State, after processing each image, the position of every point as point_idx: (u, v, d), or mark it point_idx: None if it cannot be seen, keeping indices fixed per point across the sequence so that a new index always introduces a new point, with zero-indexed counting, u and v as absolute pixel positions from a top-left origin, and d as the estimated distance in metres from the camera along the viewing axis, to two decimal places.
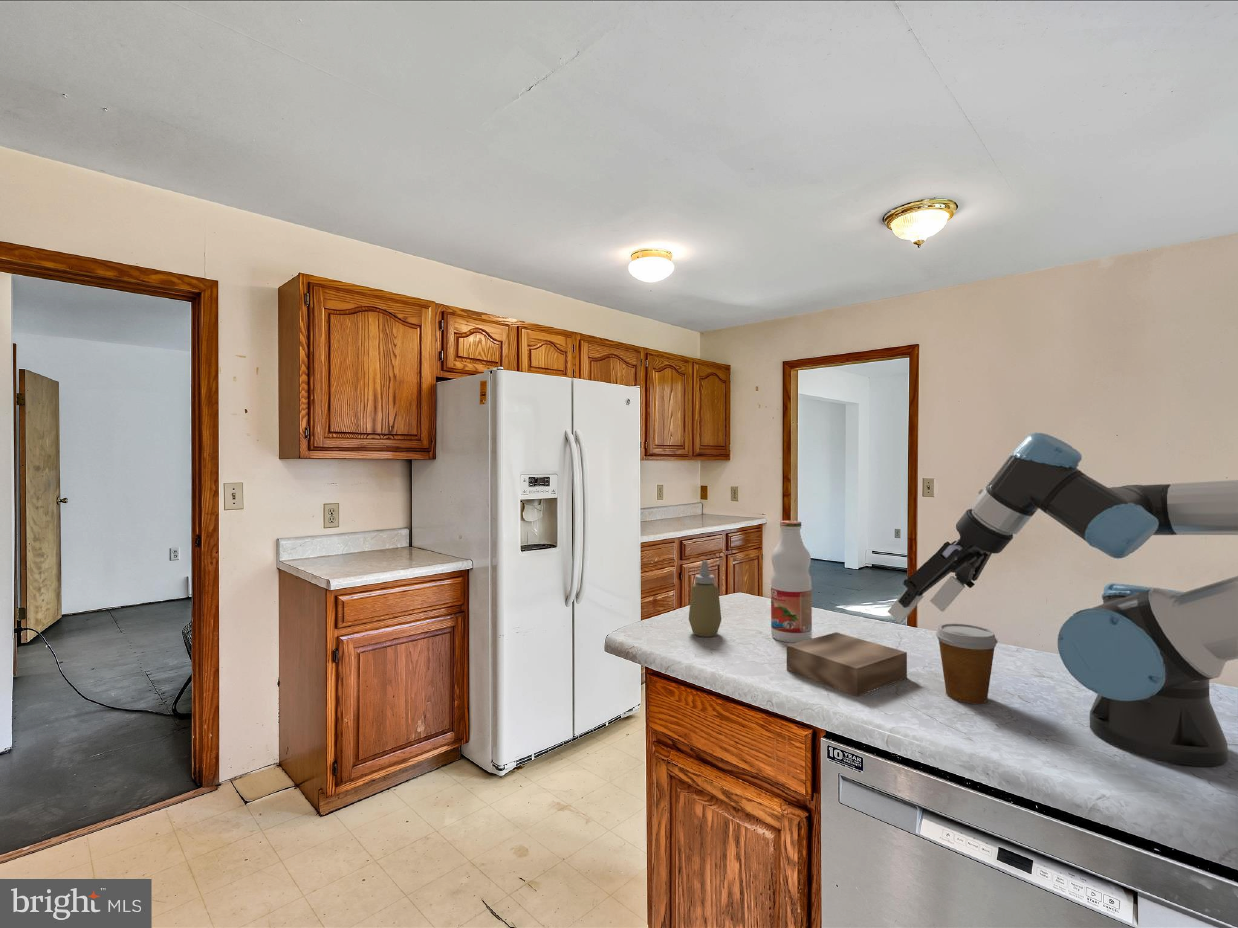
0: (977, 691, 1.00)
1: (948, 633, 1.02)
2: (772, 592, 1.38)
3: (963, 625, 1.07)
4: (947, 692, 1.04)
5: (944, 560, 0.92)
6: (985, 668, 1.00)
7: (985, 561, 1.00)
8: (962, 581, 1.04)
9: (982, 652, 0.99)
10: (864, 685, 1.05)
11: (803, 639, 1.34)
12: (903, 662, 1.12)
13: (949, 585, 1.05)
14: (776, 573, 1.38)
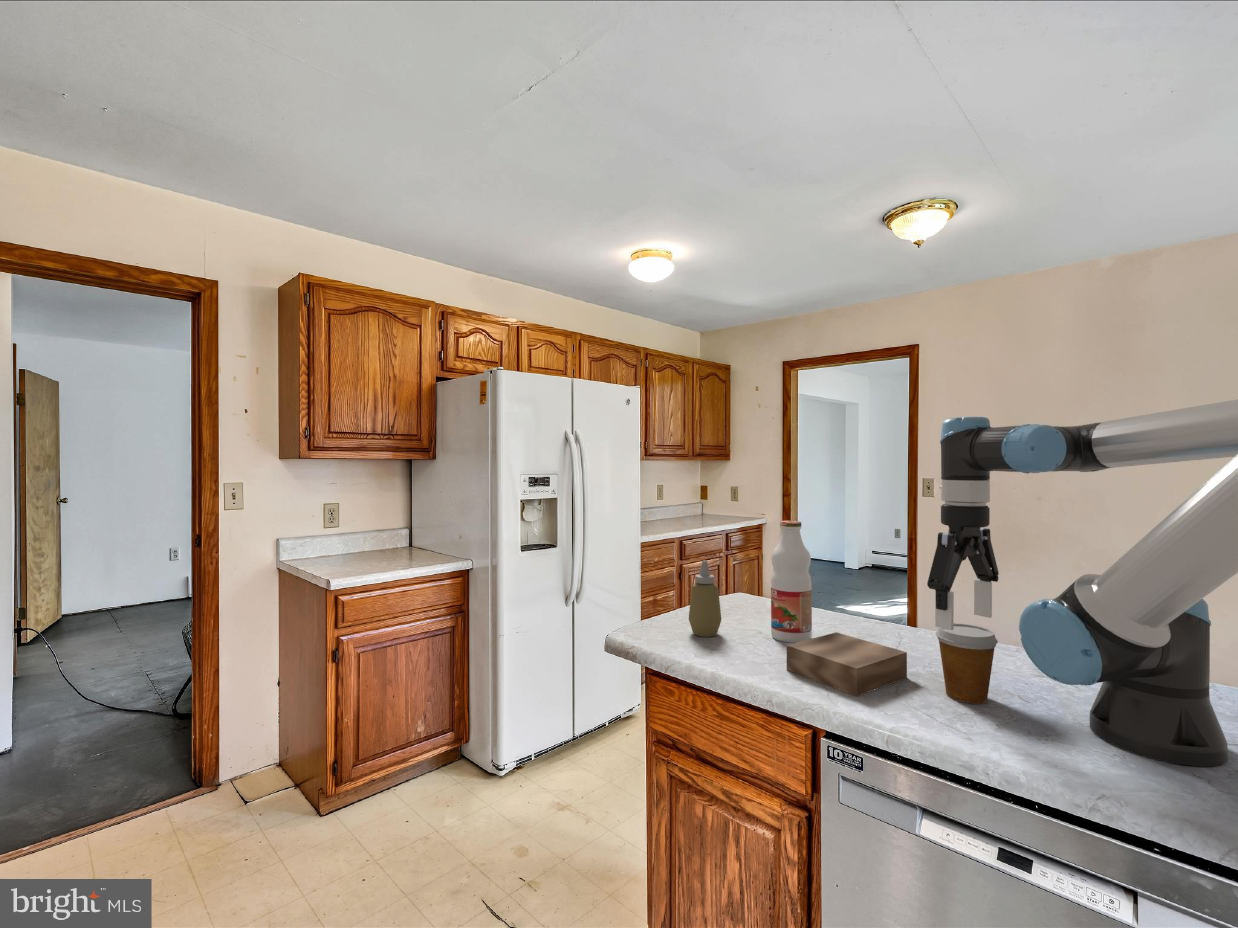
0: (977, 691, 1.00)
1: (948, 633, 1.02)
2: (772, 592, 1.38)
3: (963, 625, 1.07)
4: (947, 692, 1.04)
5: (946, 547, 0.99)
6: (985, 668, 1.00)
7: (990, 549, 1.06)
8: (986, 579, 1.07)
9: (982, 652, 0.99)
10: (864, 685, 1.05)
11: (803, 639, 1.34)
12: (903, 662, 1.12)
13: (979, 589, 1.08)
14: (776, 573, 1.38)
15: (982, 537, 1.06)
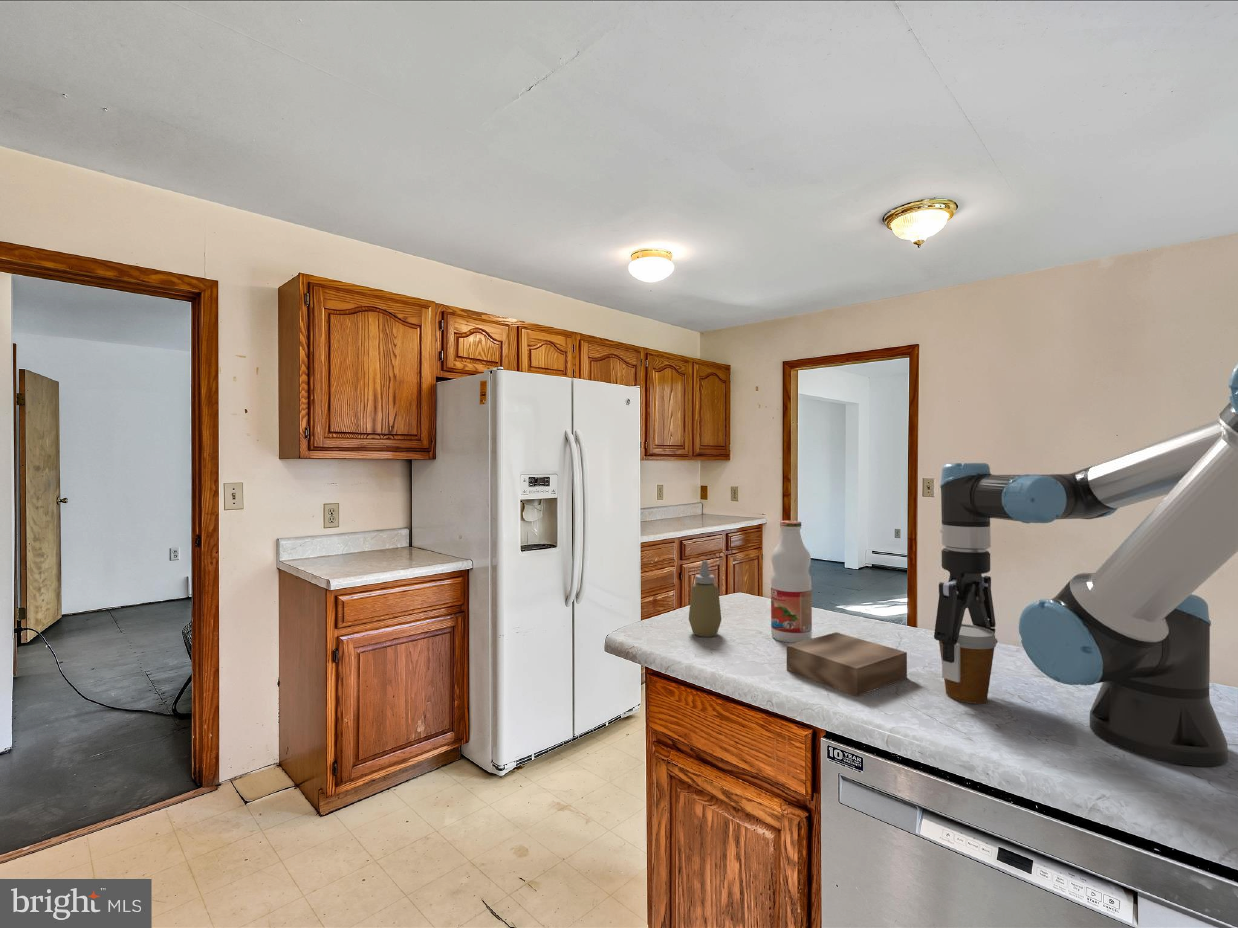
0: (977, 690, 1.00)
1: None
2: (772, 592, 1.38)
3: (963, 625, 1.07)
4: (947, 692, 1.04)
5: (949, 599, 0.99)
6: (985, 668, 1.00)
7: (990, 598, 1.06)
8: None
9: (982, 651, 0.99)
10: (864, 685, 1.05)
11: (803, 639, 1.34)
12: (903, 662, 1.12)
13: None
14: (776, 573, 1.38)
15: (982, 584, 1.06)
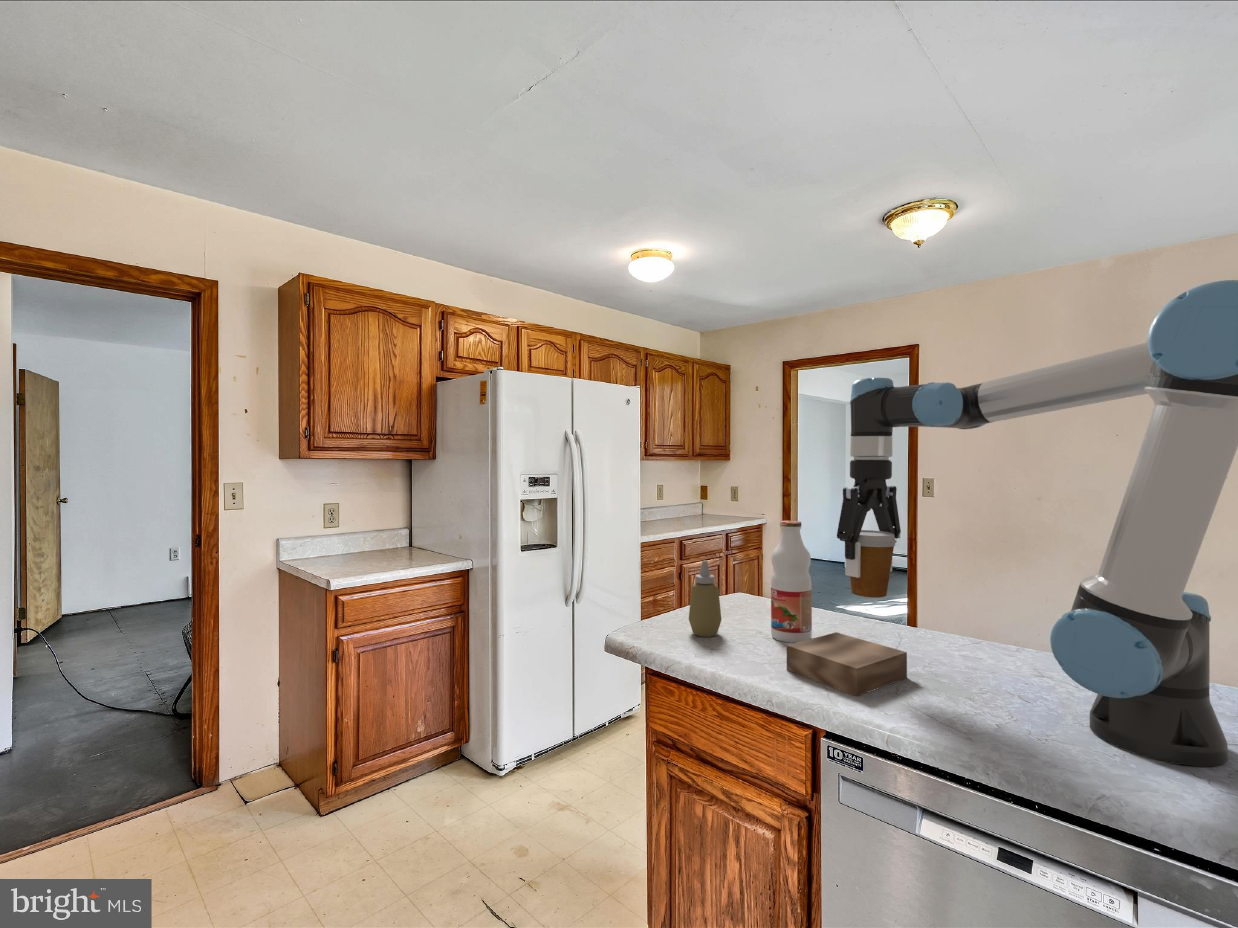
0: (876, 585, 1.09)
1: (852, 534, 1.11)
2: (772, 592, 1.38)
3: (870, 531, 1.16)
4: (851, 590, 1.13)
5: (850, 501, 1.08)
6: (883, 565, 1.09)
7: (895, 506, 1.15)
8: None
9: (880, 549, 1.09)
10: (864, 685, 1.05)
11: (803, 639, 1.34)
12: (903, 662, 1.12)
13: None
14: (776, 573, 1.38)
15: (888, 493, 1.15)
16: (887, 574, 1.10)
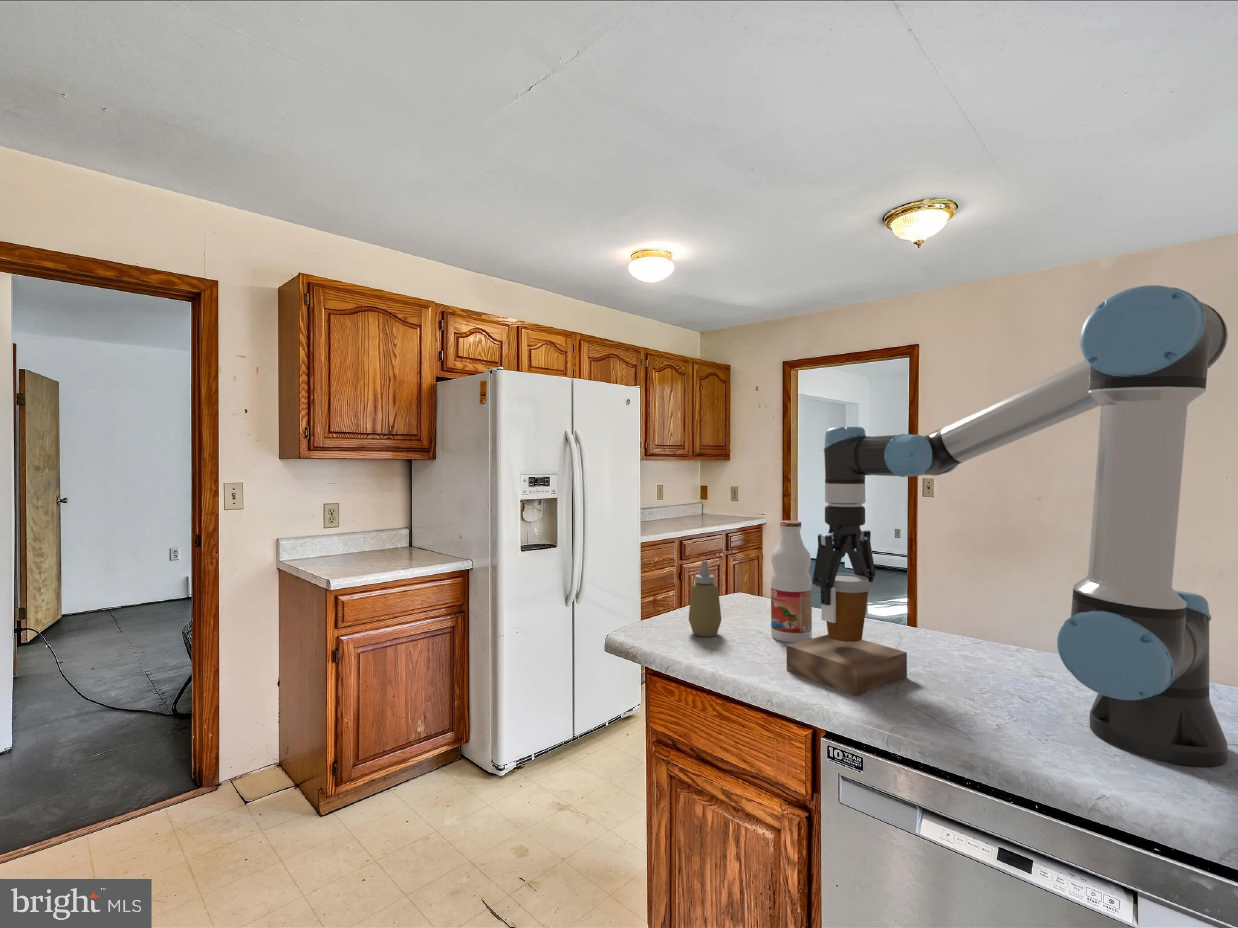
0: (851, 630, 1.12)
1: None
2: (772, 592, 1.38)
3: (846, 574, 1.18)
4: (828, 633, 1.15)
5: (825, 548, 1.11)
6: (858, 610, 1.11)
7: (869, 550, 1.17)
8: None
9: (854, 595, 1.11)
10: (864, 685, 1.05)
11: (803, 639, 1.34)
12: (903, 662, 1.12)
13: None
14: (776, 573, 1.38)
15: (862, 537, 1.17)
16: (862, 618, 1.12)
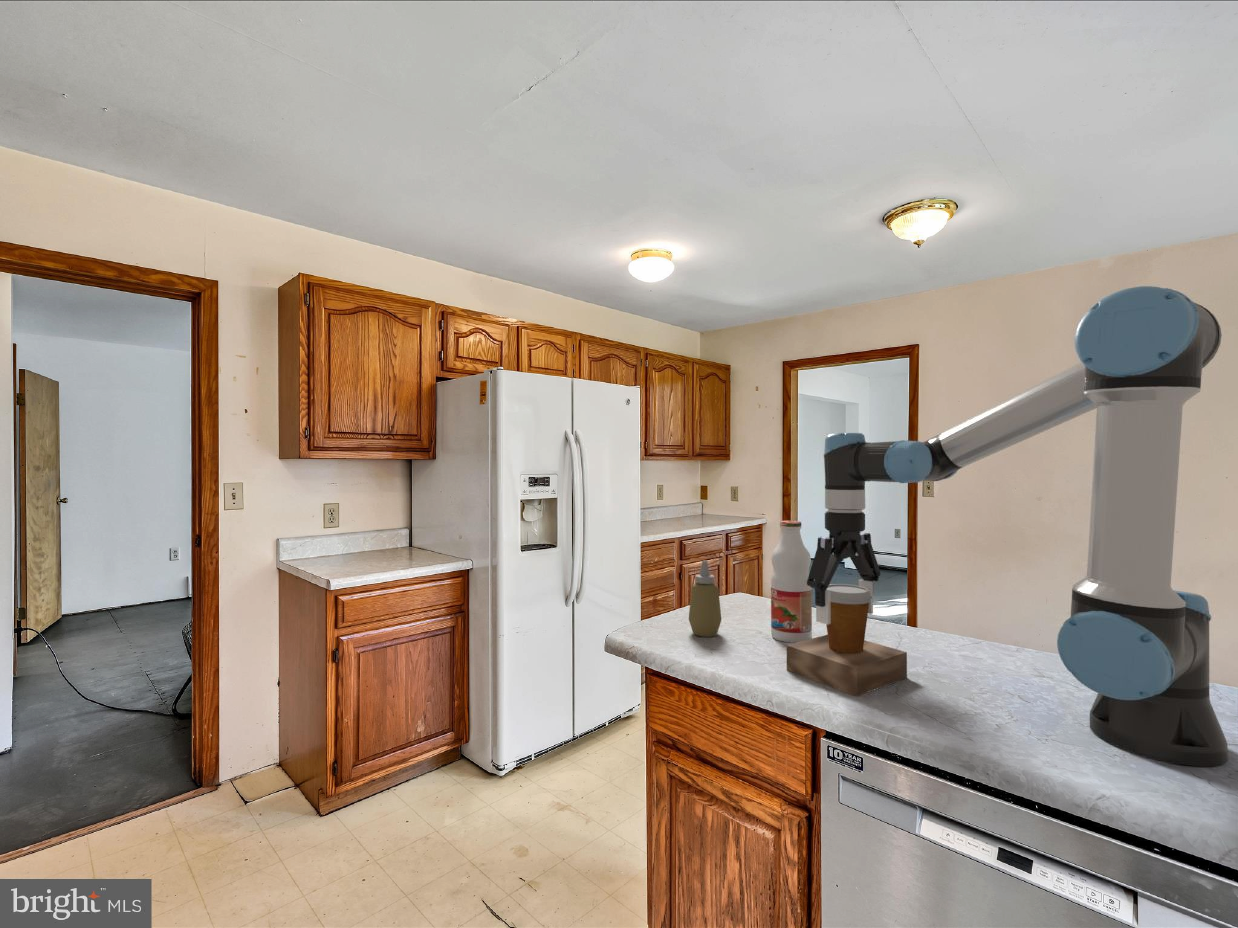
0: (852, 642, 1.12)
1: None
2: (772, 592, 1.38)
3: (847, 585, 1.18)
4: (829, 644, 1.15)
5: (824, 550, 1.11)
6: (859, 621, 1.11)
7: (871, 552, 1.18)
8: (868, 579, 1.18)
9: (855, 606, 1.11)
10: (864, 685, 1.05)
11: (803, 639, 1.34)
12: (903, 662, 1.12)
13: None
14: (776, 573, 1.38)
15: (863, 541, 1.17)
16: (863, 630, 1.12)
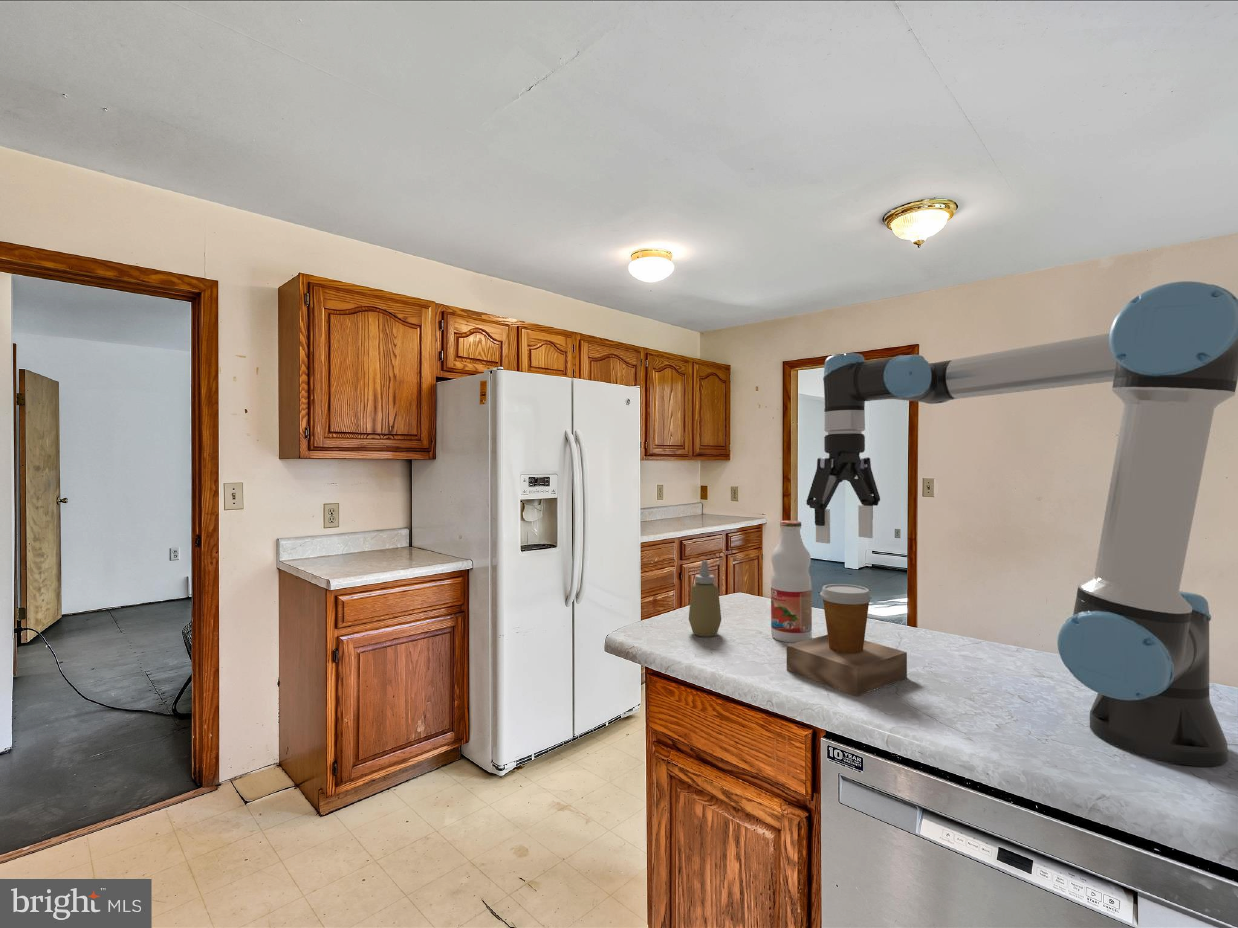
0: (852, 642, 1.12)
1: (828, 591, 1.13)
2: (772, 592, 1.38)
3: (846, 585, 1.18)
4: (829, 645, 1.15)
5: (823, 470, 1.11)
6: (859, 621, 1.11)
7: (871, 476, 1.18)
8: (868, 504, 1.18)
9: (855, 606, 1.11)
10: (864, 685, 1.05)
11: (803, 639, 1.34)
12: (903, 662, 1.12)
13: (862, 513, 1.19)
14: (775, 573, 1.38)
15: (863, 465, 1.17)
16: (863, 630, 1.12)
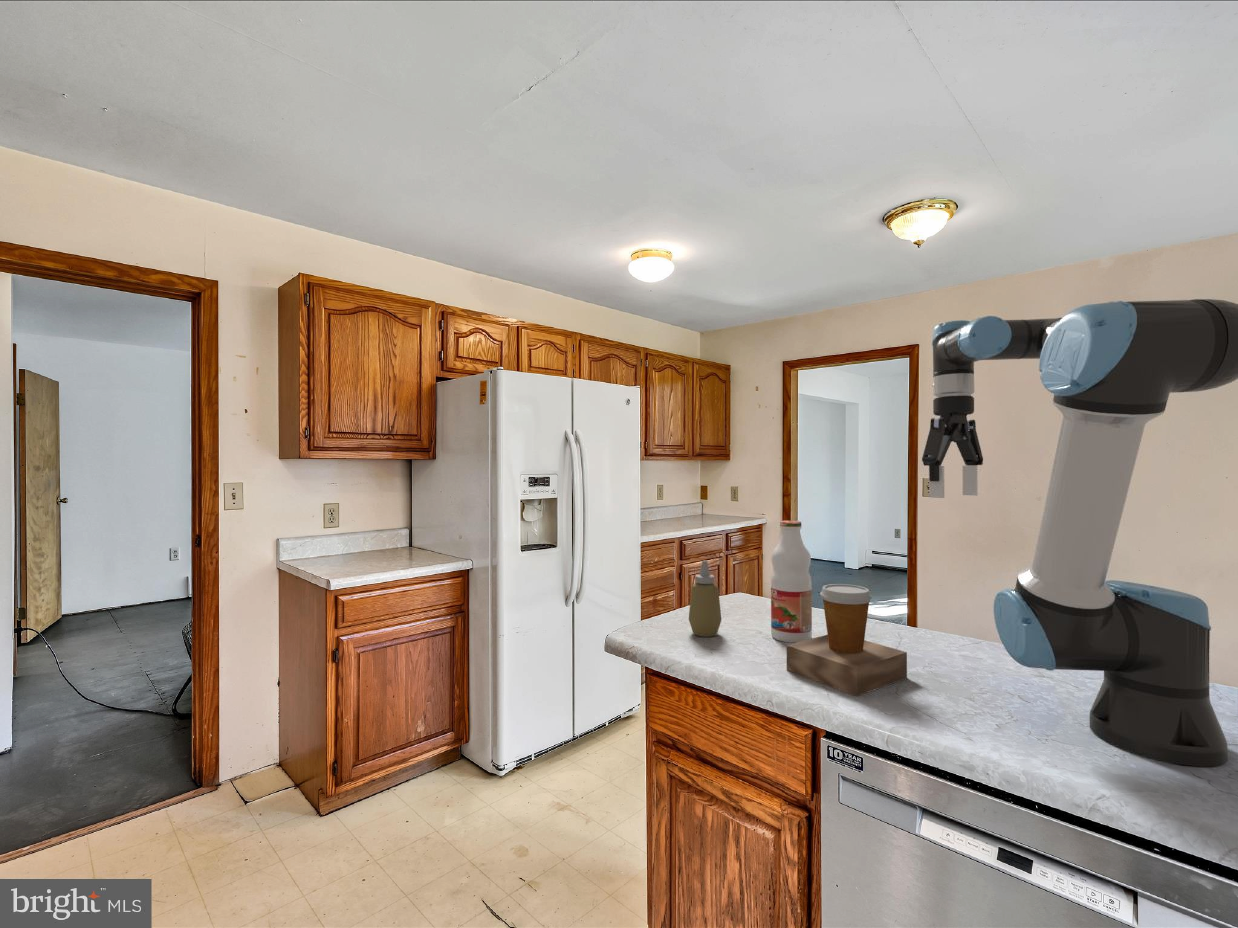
0: (852, 642, 1.12)
1: (828, 591, 1.13)
2: (772, 592, 1.38)
3: (846, 585, 1.18)
4: (829, 645, 1.15)
5: (938, 429, 1.18)
6: (859, 621, 1.11)
7: (976, 438, 1.25)
8: (973, 463, 1.26)
9: (855, 606, 1.11)
10: (864, 685, 1.05)
11: (803, 639, 1.34)
12: (903, 662, 1.12)
13: (966, 472, 1.26)
14: (776, 573, 1.38)
15: (968, 427, 1.25)
16: (863, 630, 1.12)
